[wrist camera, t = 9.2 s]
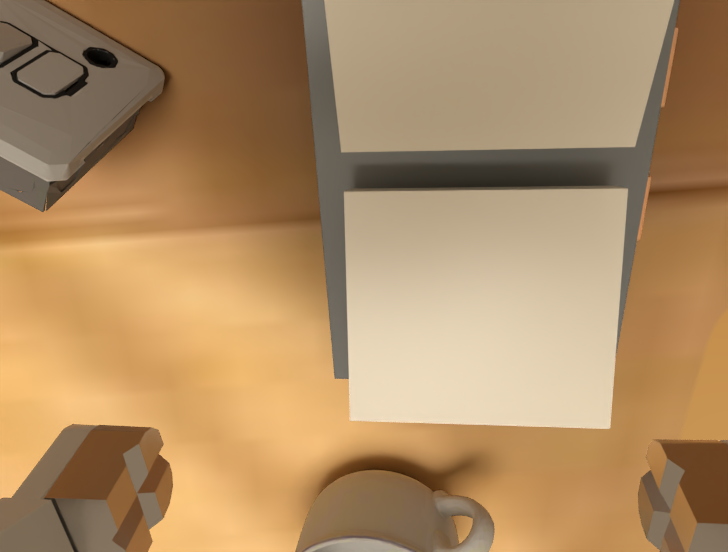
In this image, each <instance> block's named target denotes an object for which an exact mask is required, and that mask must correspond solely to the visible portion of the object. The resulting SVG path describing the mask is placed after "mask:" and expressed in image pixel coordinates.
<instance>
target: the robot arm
mask: <svg viewBox="0 0 728 552" xmlns="http://www.w3.org/2000/svg"><path fill="white" fill-rule="evenodd" d="M162 446H163V441H162V438H161V436H160V433H159V430H157V429H154V428H150V427H130V426H110V425H98V426H96V425H78V424H72V425H70V426H68V427H66V428H65V429H63V430H62V432H61V433H60V434H59V436H58V437H57V438H56V440H55V441H54V442H53V444H52V445H51V446H50V448H49V449H48V450H47V452H46V453H45V454H44V456H43V457H42V458H41V459H40V461H39V462H38V463H37V465H36V466H35V467H34V469H33V470H32V471H31V473H30V474H29V475H28V477H27V478H26V479H25V481H24V482H23V483H22V485H21V486H20V487H19V489H18V490H17V491H16V492H15V494H14V495H13V496H12V498H2V499H0V552H148V550H149V548H150V546H151V544H152V542H153V541H152V538H151V535H150V531H149V529H150V528H152V527H153V526H154V525H156V524H157V523H158V522H159V521H161V520H162V519H163V518H164V515H165V513H166V511H167V509H168V506H169V504H170V499H171V493H172V488H173V481H172V471H171V468H170V464H169V463H168V462H167V461H166V460H165V459H164V458H163V457H162V456H160V455H159V452H160V450H161V448H162ZM646 460H647V462H648V464H649V467H650V469H651V470H650V471H649V472H648V473H646V474H645V475H644V476H643V477H641V480H640V485H639V491H638V504H639V514H640V519H641V523H642V527H643V529H644V532H645V535H646V538H647V540H649V541H650V542H651V543H652V544H653V545H654V546H655V547H657V548H658V549H659V550H660V552H728V440H721V441H717V440H657V439H653V440H652V442H651V443H650V444H649V446H648V450H647V454H646Z"/></svg>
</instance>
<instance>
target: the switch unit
mask: <svg viewBox="0 0 728 552" xmlns="http://www.w3.org/2000/svg"><path fill="white" fill-rule="evenodd" d="M679 3H680V0H674V4H673V7H672V11H671V15H670V19H669V22H668V26H667V30H666V33H665V37H664V41H663V45H662V48H661V52H660V56H659V60H658V63H657V67H656V71H655V74H654V78H653V82H652V86H651V89H650V93H649V97H648V100H647V104H646V108H645V112H644V115H643V119H642V123H641V127H640V130H639V134H638V138H637V141H636V145H635V147H608V148H554V149H500V150H446V151H392V152H341V146H340V137H339V128H338V119H337V110H336V101H335V92H334V83H333V74H332V65H331V57H330V48H329V39H328V30H327V21H326V12H325V3H324V0H302V8H303V19H304V31H305V42H306V54H307V65H308V77H309V88H310V100H311V111H312V123H313V134H314V146H315V157H316V169H317V180H318V192H319V203H320V215H321V226H322V238H323V249H324V261H325V272H326V284H327V295H328V307H329V318H330V330H331V341H332V352H333V364H334V375H335V379H349V365H348V328H347V290H346V253H345V216H344V191H346V190H348V189H365V188H450V187H535V186H620V187H624V188H628V197H627V211H626V224H625V237H624V250H623V264H622V277H621V290H620V303H619V317H618V330H617V343H616V353H617V348H618V342H619V337H620V331H621V325H622V320H623V314H624V309H625V303H626V298H627V292H628V286H629V281H630V275H631V270H632V264H633V259H634V253H635V248H636V242H637V240H640V238H641V232H642V227H643V221H644V216H645V210H646V205H647V199H648V194H649V188H650V183H651V176H650V175H649V170H650V164H651V159H652V153H653V147H654V142H655V136H656V131H657V125H658V120H659V114H660V108H661V107H664V106H665V101H666V95H667V90H668V84H669V79H670V73H671V68H672V62H673V57H674V51H675V46H676V40H677V35H678V29H679V28H676V27H675V25H676V20H677V14H678V8H679ZM615 359H616V356H615Z"/></svg>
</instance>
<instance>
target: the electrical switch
mask: <svg viewBox="0 0 728 552" xmlns="http://www.w3.org/2000/svg"><path fill="white" fill-rule="evenodd" d="M164 80H165V76H164V72H163V71H162V70H161V68H159V67H158V66H157V65H155V64H153V63H151V62H150V61H148V60H146V59H145V58H143V57H141V56H139V55H138V54H136V53H134V52H133V51H131V50H129V49H127V48H126V47H124V46H122V45H121V44H119V43H117V42H115V41H114V40H112V39H110V38H108V37H107V36H105V35H103V34H102V33H100V32H98V31H96V30H95V29H93V28H91V27H90V26H88V25H86V24H84V23H83V22H81V21H79V20H78V19H76V18H74V17H72V16H71V15H69V14H67V13H66V12H64V11H62V10H60V9H59V8H57V7H55V6H53V5H52V4H50V3H48V2H47V1H45V0H0V190H2V191H3V192H5V193H7V194H9V195H11V196H13V197H15V198H17V199H19V200H21V201H23V202H24V203H26V204H28V205H30V206H32V207H34V208H36V209H38V210H40V211H42V212H43V211H45V204H46V196H47V205H46V211H47V210H48V209H49V208H50V207H51V206H52V205H53V204H54V203H55V202H56V201H58V200H59V199H60V198H61V197H62V196H63V195H64V194H65V193H66V192H67V191H68V190H69V189H70V188H71V187H72V186H73V185H74V184H75V183H76V182H78V181H79V180H80V179H81V178H82V177H83V176H84V175H85V174H86V173H87V172H88V171H89V170H90V169H91V168H92V167H93V166H94V165H95V164H97V163H98V162H99V161H100V160H101V159H102V158H103V157H104V156H105V155H106V154H107V153H108V152H109V151H110V150H111V149H112V148H113V147H114V146H115V145H117V144H118V143H119V142H120V141H121V140H122V139H123V138H124V137H125V136H126V135H127V134H128V133H129V132H130V131H131V130H132V129H133V128H134V124H135V120H136V116H137V115H138V113H139V110H140V108H141V107H142V106H143V105H144V104H145V103H146V102H147V101H150V102H152V101H153V100H154V99H155V98H156V97H158V96H159V95H160V94H161V93H162V91H163V85H164ZM19 191H22V192H21V193H20V192H19Z"/></svg>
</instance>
